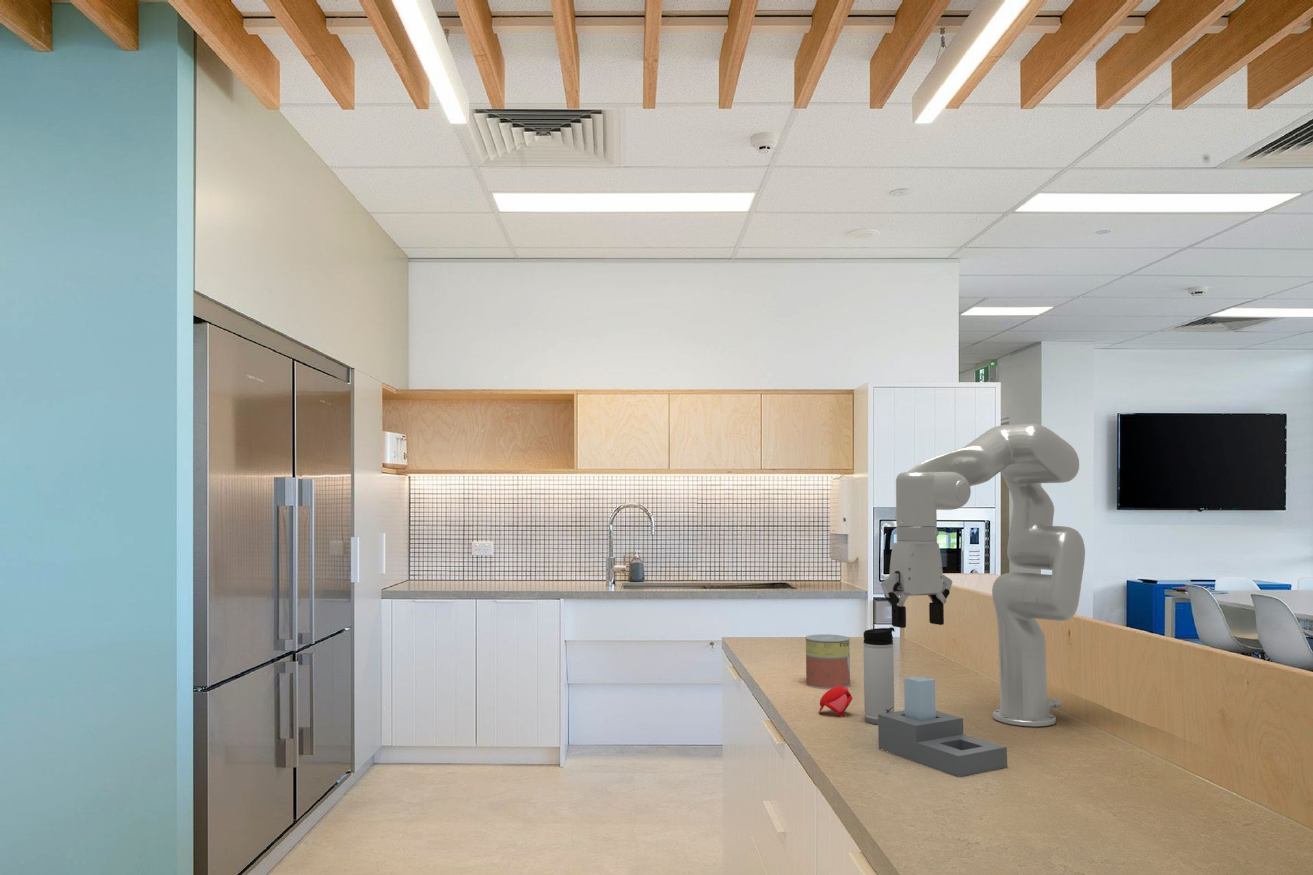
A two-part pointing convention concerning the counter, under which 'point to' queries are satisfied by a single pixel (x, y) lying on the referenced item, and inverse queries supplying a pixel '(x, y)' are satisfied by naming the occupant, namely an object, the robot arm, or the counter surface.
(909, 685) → the plug
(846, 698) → the cap
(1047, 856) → the counter surface
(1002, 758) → the socket panel
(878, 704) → the travel mug
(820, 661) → the canned food
